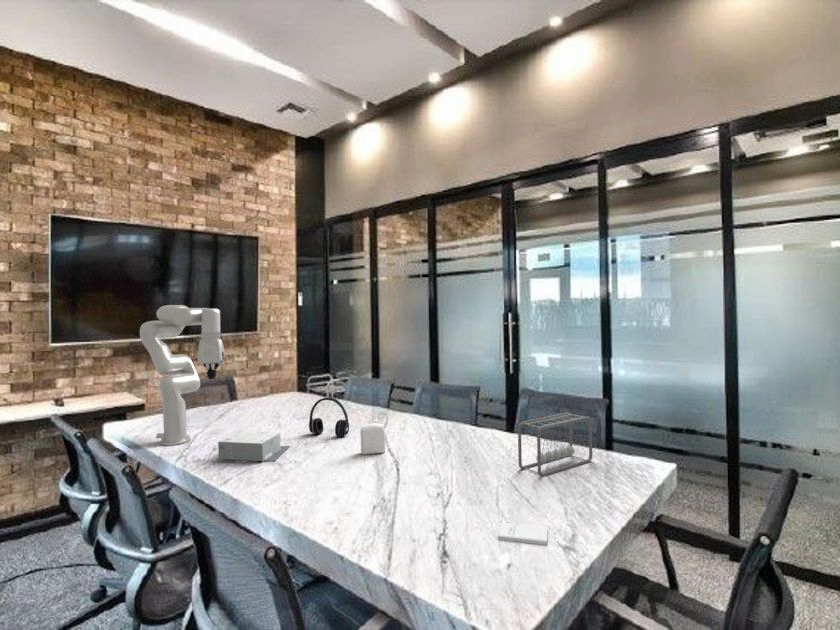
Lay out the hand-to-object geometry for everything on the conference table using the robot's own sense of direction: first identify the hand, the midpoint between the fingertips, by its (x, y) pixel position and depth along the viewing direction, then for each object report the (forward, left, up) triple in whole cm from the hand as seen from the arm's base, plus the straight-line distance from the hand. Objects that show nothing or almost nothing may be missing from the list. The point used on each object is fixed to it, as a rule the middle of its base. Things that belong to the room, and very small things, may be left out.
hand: (212, 378), depth 206 cm
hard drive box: (+9, -6, -28) cm, 30 cm away
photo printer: (+71, -5, -32) cm, 78 cm away
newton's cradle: (+143, -23, -32) cm, 148 cm away
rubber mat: (+21, -5, -32) cm, 39 cm away
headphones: (+46, +23, -32) cm, 60 cm away
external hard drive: (+120, -78, -33) cm, 147 cm away
